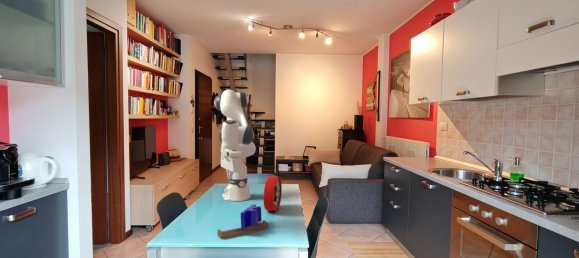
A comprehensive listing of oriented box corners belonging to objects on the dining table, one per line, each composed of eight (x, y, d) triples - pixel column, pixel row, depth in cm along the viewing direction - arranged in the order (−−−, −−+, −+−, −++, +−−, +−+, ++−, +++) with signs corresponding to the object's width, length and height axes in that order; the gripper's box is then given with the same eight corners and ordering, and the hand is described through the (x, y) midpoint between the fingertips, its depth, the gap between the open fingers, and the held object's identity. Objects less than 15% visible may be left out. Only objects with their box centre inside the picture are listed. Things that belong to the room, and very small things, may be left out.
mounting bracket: (241, 228, 130) (253, 228, 129) (240, 213, 130) (252, 213, 129) (253, 218, 148) (264, 218, 146) (252, 204, 148) (263, 204, 147)
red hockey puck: (273, 216, 157) (273, 180, 156) (263, 215, 158) (263, 179, 157) (281, 205, 176) (281, 173, 176) (272, 204, 178) (272, 173, 177)
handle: (217, 236, 129) (217, 227, 129) (264, 226, 142) (264, 218, 142) (220, 239, 125) (220, 230, 125) (268, 228, 138) (268, 220, 138)
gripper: (217, 150, 153) (217, 175, 153) (231, 154, 135) (231, 182, 136) (228, 149, 156) (228, 174, 156) (243, 153, 139) (243, 181, 139)
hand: (230, 178), depth 146 cm, fingers closed
